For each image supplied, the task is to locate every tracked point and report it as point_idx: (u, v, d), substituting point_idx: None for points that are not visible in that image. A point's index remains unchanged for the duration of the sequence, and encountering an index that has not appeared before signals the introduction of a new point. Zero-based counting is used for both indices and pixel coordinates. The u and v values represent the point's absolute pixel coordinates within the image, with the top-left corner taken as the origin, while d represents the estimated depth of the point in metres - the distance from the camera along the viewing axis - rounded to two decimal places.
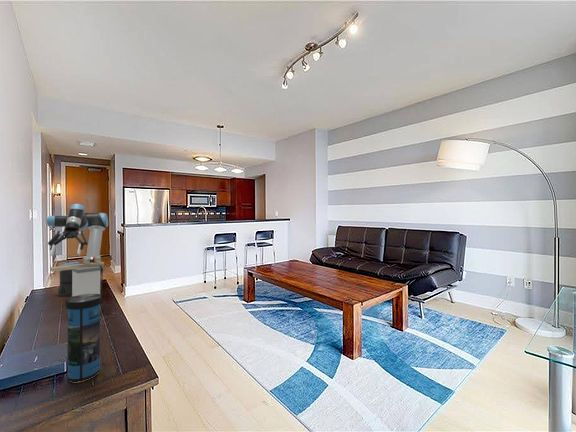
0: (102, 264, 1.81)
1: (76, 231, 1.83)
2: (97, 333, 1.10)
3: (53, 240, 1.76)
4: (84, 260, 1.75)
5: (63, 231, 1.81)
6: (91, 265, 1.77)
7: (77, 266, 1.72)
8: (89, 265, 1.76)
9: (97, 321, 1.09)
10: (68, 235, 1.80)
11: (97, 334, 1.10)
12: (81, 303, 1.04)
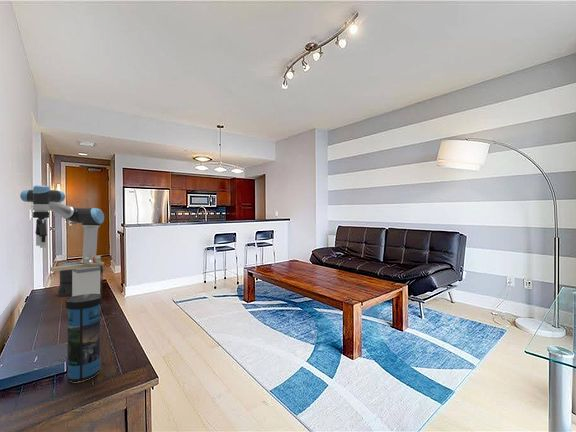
0: (102, 264, 1.81)
1: (39, 220, 1.69)
2: (97, 333, 1.10)
3: None
4: (84, 260, 1.75)
5: (37, 219, 1.74)
6: (91, 265, 1.77)
7: (77, 266, 1.72)
8: (89, 265, 1.76)
9: (97, 321, 1.09)
10: None
11: (97, 334, 1.10)
12: (81, 303, 1.04)
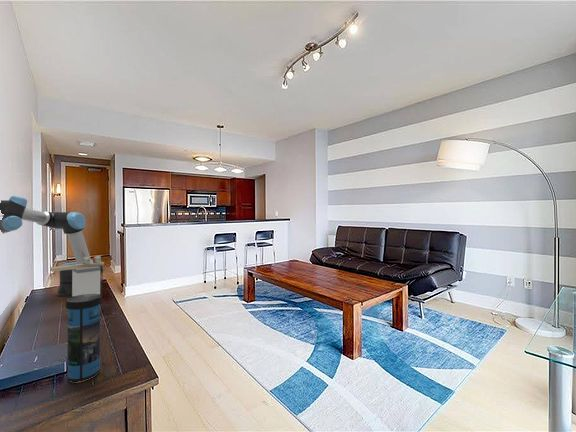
0: (102, 264, 1.81)
1: None
2: (97, 333, 1.10)
3: None
4: (84, 260, 1.75)
5: None
6: (91, 265, 1.77)
7: (77, 266, 1.72)
8: (89, 265, 1.76)
9: (97, 321, 1.09)
10: None
11: (97, 334, 1.10)
12: (81, 303, 1.04)
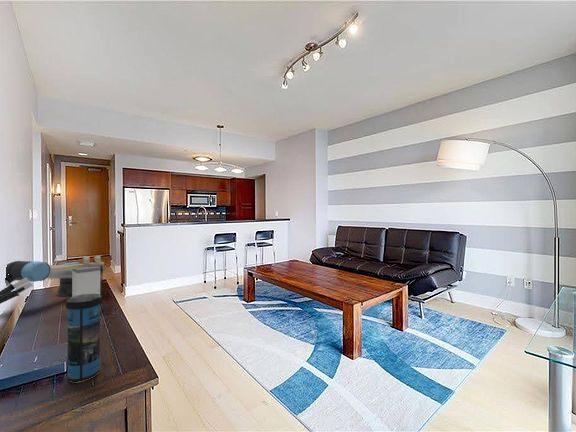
0: (102, 264, 1.81)
1: None
2: (97, 333, 1.10)
3: None
4: (84, 260, 1.75)
5: None
6: (91, 265, 1.77)
7: (77, 266, 1.72)
8: (89, 265, 1.76)
9: (97, 321, 1.09)
10: None
11: (97, 334, 1.10)
12: (81, 303, 1.04)
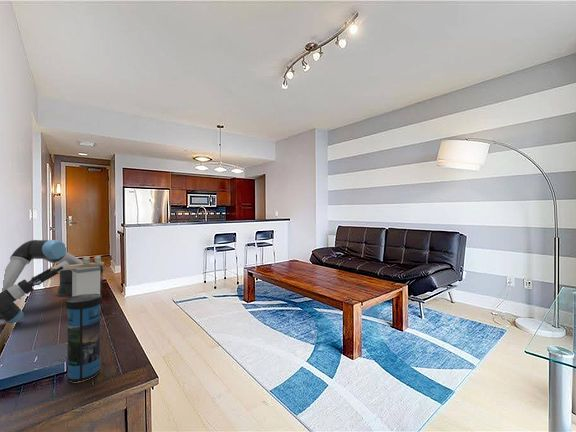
0: (102, 264, 1.81)
1: None
2: (97, 333, 1.09)
3: None
4: (84, 260, 1.75)
5: None
6: (91, 265, 1.77)
7: (77, 266, 1.72)
8: (89, 265, 1.76)
9: (97, 321, 1.09)
10: None
11: (97, 334, 1.10)
12: (81, 303, 1.04)
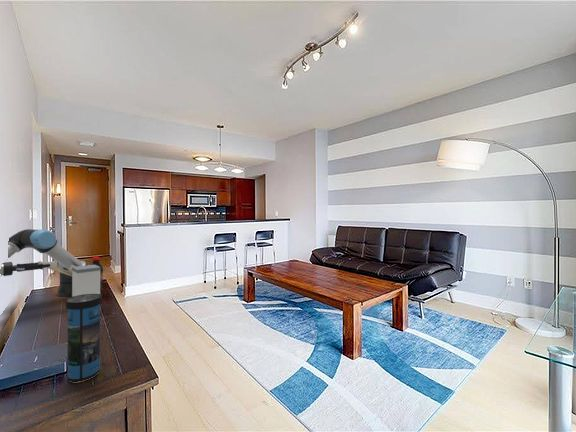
0: None
1: (16, 270, 1.60)
2: (97, 333, 1.09)
3: None
4: (71, 268, 1.81)
5: None
6: None
7: (62, 270, 1.77)
8: None
9: (97, 321, 1.09)
10: None
11: (97, 334, 1.10)
12: (81, 303, 1.04)
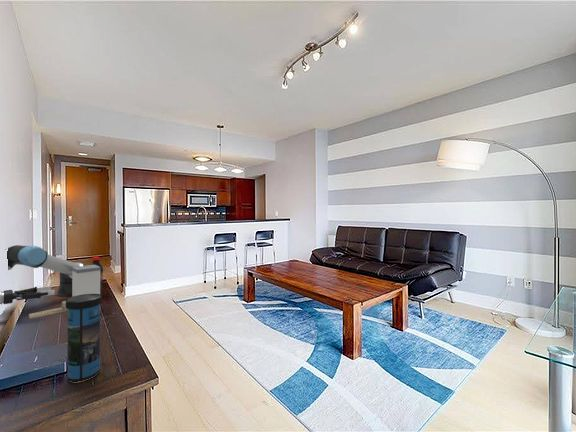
0: None
1: (16, 298, 1.61)
2: (97, 333, 1.09)
3: None
4: (63, 304, 1.78)
5: None
6: None
7: (56, 311, 1.75)
8: None
9: (97, 321, 1.09)
10: None
11: (97, 334, 1.10)
12: (81, 303, 1.04)
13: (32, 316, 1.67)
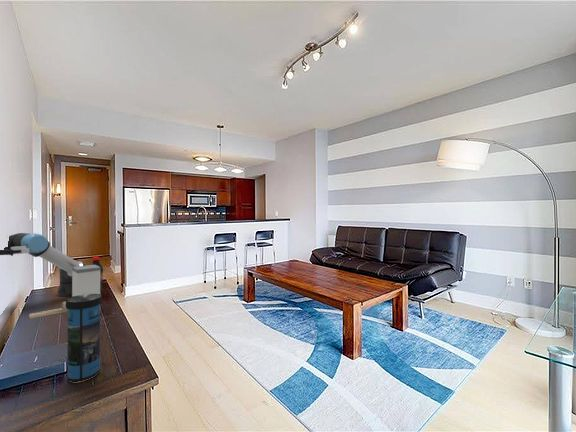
0: None
1: None
2: (97, 333, 1.09)
3: None
4: (63, 305, 1.77)
5: None
6: None
7: (56, 312, 1.74)
8: None
9: (97, 321, 1.09)
10: None
11: (97, 334, 1.10)
12: (81, 303, 1.04)
13: (32, 316, 1.67)
